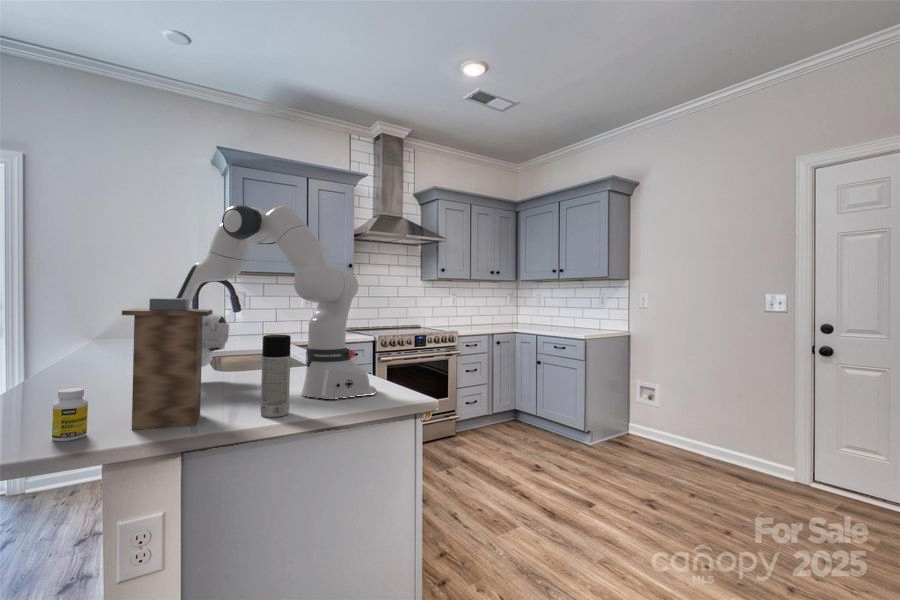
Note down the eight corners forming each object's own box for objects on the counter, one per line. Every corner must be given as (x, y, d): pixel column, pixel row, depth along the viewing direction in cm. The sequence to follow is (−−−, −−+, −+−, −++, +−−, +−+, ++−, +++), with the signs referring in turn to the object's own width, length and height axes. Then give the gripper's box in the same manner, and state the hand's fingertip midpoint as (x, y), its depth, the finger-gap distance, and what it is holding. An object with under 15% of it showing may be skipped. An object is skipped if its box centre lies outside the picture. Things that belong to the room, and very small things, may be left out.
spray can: (293, 411, 113) (295, 334, 113) (280, 419, 106) (283, 337, 106) (269, 410, 114) (271, 333, 113) (254, 417, 107) (257, 336, 107)
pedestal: (209, 413, 109) (212, 309, 109) (204, 425, 99) (207, 311, 99) (133, 418, 103) (135, 308, 103) (119, 432, 93) (121, 310, 93)
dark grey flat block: (196, 308, 116) (197, 298, 116) (186, 310, 99) (186, 299, 99) (165, 307, 113) (166, 297, 113) (149, 310, 96) (149, 298, 96)
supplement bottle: (57, 443, 85) (58, 393, 85) (47, 438, 88) (48, 390, 88) (91, 436, 90) (92, 389, 90) (81, 431, 93) (82, 385, 93)
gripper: (156, 331, 134) (147, 310, 123) (230, 331, 142) (228, 311, 131) (153, 350, 131) (144, 330, 120) (229, 348, 139) (227, 330, 128)
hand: (188, 320), depth 126 cm, fingers open, 8 cm apart
